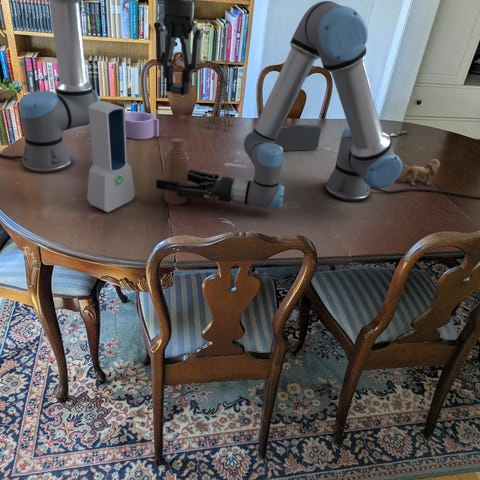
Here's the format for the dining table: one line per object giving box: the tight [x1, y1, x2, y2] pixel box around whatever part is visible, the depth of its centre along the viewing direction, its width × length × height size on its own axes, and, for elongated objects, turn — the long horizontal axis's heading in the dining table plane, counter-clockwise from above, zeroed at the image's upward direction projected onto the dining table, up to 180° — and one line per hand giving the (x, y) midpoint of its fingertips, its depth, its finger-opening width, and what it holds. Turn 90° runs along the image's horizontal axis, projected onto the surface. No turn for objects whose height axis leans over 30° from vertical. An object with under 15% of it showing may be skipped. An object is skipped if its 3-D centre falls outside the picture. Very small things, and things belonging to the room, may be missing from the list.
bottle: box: [163, 137, 190, 205], centre depth 142 cm, size 7×7×20 cm
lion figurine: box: [400, 158, 441, 186], centre depth 172 cm, size 15×5×9 cm, turn 110°
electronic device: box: [86, 100, 135, 213], centre depth 133 cm, size 12×8×30 cm, turn 148°
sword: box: [387, 132, 406, 138], centre depth 214 cm, size 31×3×1 cm, turn 126°
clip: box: [125, 111, 160, 140], centre depth 188 cm, size 20×12×7 cm, turn 109°
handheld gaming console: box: [274, 124, 322, 152], centre depth 189 cm, size 23×3×10 cm, turn 108°
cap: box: [169, 82, 182, 95], centre depth 129 cm, size 4×4×2 cm
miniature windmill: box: [207, 57, 231, 131], centre depth 198 cm, size 9×8×30 cm
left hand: (177, 92), depth 129 cm, fingers closed on cap, 4 cm apart
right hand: (160, 178), depth 144 cm, fingers closed on bottle, 7 cm apart
